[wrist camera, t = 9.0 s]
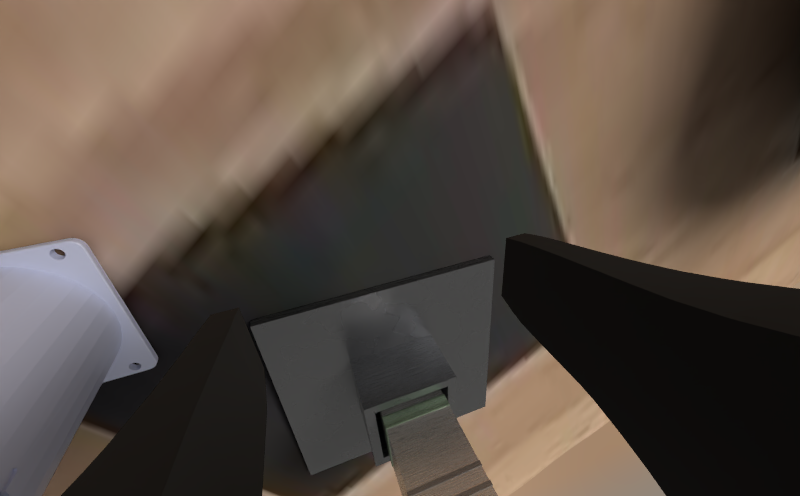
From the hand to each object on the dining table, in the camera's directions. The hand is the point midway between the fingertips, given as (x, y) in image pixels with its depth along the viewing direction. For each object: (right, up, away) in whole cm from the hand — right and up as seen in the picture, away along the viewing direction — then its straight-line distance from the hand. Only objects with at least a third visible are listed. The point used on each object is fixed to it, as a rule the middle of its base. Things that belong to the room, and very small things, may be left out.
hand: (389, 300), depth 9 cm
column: (+1, -9, +14) cm, 17 cm away
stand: (0, -8, +17) cm, 18 cm away
